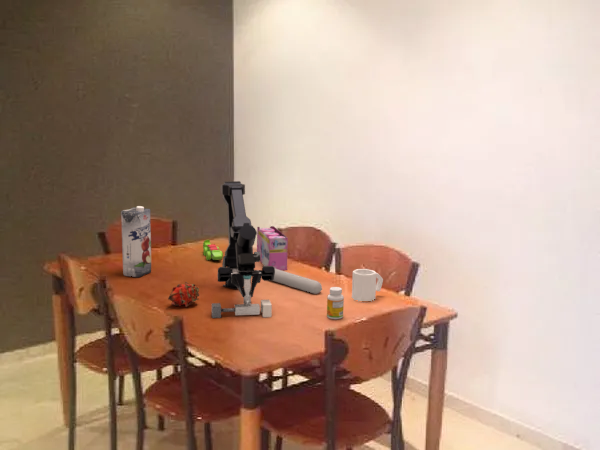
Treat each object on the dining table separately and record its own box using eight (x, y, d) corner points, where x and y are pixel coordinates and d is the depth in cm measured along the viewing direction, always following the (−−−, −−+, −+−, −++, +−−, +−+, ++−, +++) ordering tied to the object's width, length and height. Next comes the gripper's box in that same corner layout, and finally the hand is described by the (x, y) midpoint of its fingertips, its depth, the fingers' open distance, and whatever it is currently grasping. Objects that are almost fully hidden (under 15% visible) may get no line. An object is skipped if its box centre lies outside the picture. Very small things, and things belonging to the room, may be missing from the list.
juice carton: (119, 276, 287) (117, 207, 282) (135, 269, 297) (133, 203, 291) (139, 278, 284) (137, 209, 278) (154, 272, 294) (153, 204, 288)
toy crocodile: (225, 263, 310) (225, 248, 309) (209, 264, 308) (209, 249, 307) (216, 251, 329) (216, 238, 327) (201, 252, 327) (201, 239, 325)
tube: (326, 282, 271) (278, 268, 288) (316, 280, 267) (268, 266, 284) (322, 296, 271) (275, 281, 288) (313, 295, 267) (265, 280, 284)
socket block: (263, 317, 243) (263, 305, 243) (260, 311, 249) (260, 299, 248) (271, 317, 244) (271, 305, 243) (269, 311, 250) (269, 299, 249)
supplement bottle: (325, 314, 248) (326, 286, 246) (341, 314, 248) (342, 286, 246) (327, 319, 243) (328, 291, 241) (344, 319, 243) (345, 290, 241)
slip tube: (235, 315, 243) (235, 277, 241) (234, 312, 246) (234, 274, 243) (259, 314, 245) (260, 276, 242) (258, 311, 247) (259, 273, 245)
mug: (361, 303, 260) (362, 276, 258) (346, 296, 267) (347, 270, 265) (388, 298, 266) (389, 272, 264) (373, 292, 273) (374, 266, 271)
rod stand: (212, 318, 242) (212, 306, 241) (211, 314, 245) (211, 303, 244) (250, 316, 244) (250, 305, 243) (248, 313, 247) (248, 302, 246)
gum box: (255, 256, 321) (255, 226, 318) (273, 255, 323) (273, 225, 321) (268, 271, 299) (269, 238, 296) (287, 270, 301) (288, 237, 298)
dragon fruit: (202, 306, 258) (171, 317, 251) (190, 288, 262) (160, 299, 255) (207, 292, 252) (175, 303, 245) (195, 273, 256) (163, 283, 249)
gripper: (217, 243, 243) (219, 285, 234) (274, 242, 246) (278, 284, 238) (216, 260, 252) (218, 301, 244) (271, 259, 255) (275, 300, 247)
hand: (247, 296), depth 243 cm, fingers closed on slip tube, 2 cm apart
